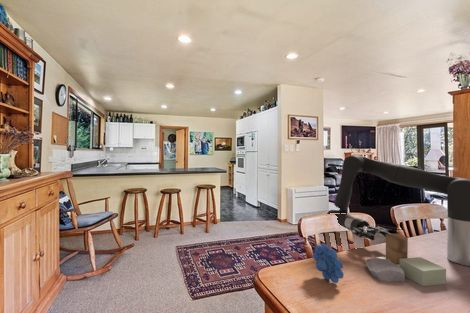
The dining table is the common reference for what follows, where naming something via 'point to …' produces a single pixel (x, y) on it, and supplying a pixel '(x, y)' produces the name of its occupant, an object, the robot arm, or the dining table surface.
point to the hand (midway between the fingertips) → (382, 237)
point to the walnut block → (396, 248)
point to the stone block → (385, 270)
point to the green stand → (423, 271)
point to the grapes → (328, 263)
